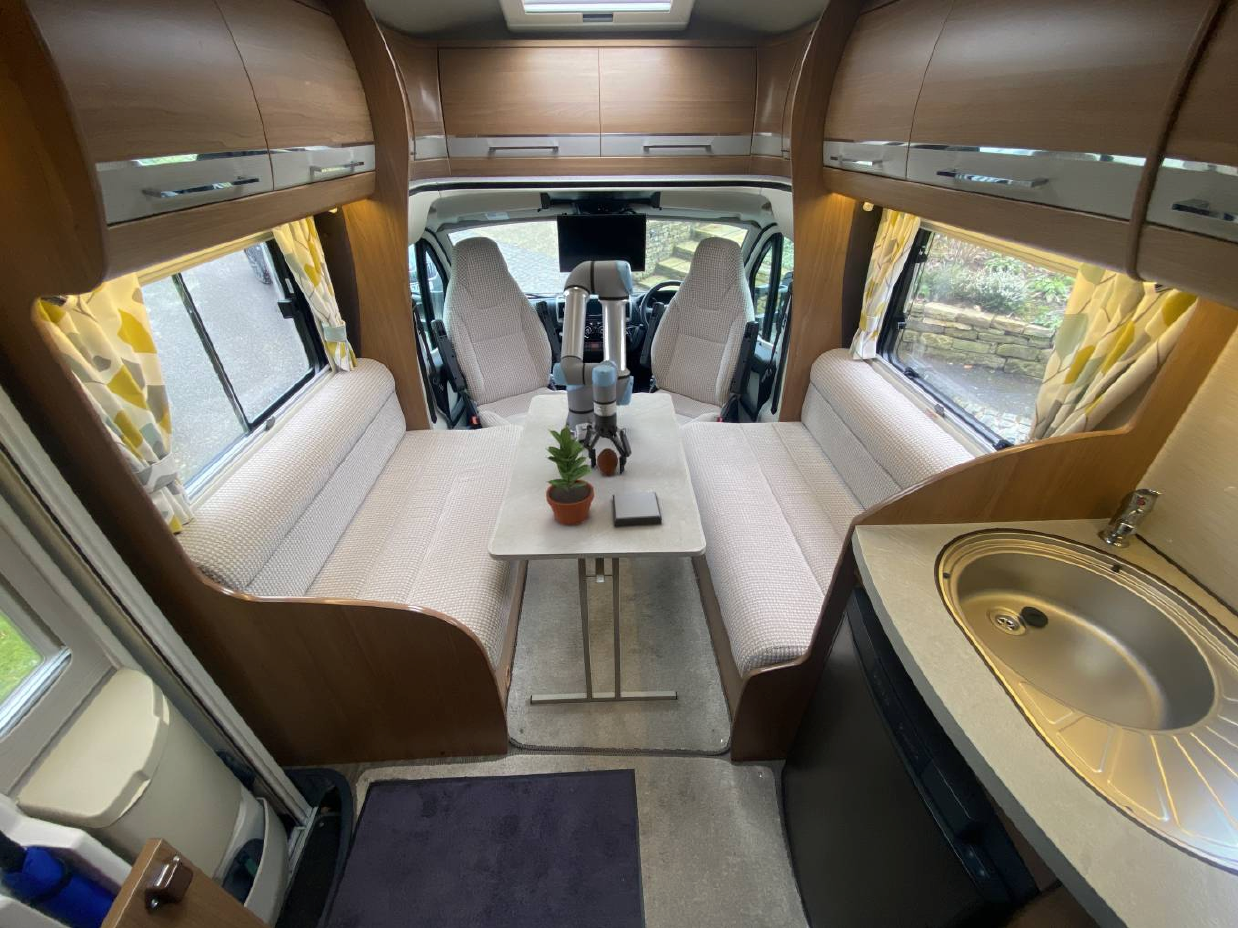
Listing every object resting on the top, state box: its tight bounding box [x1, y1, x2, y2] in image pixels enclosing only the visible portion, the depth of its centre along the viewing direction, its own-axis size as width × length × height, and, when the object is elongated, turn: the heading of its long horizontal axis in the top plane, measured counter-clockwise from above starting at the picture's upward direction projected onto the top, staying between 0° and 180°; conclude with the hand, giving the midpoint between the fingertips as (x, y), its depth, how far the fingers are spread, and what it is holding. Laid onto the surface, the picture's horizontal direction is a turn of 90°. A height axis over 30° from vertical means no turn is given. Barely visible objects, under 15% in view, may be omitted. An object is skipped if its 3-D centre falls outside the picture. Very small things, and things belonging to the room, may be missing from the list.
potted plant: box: [545, 424, 595, 526], centre depth 147 cm, size 15×15×30 cm
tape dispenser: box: [574, 423, 593, 445], centre depth 195 cm, size 6×7×10 cm
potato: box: [596, 447, 619, 477], centre depth 176 cm, size 8×12×8 cm, turn 179°
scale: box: [612, 491, 662, 528], centre depth 155 cm, size 14×14×3 cm
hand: (607, 469), depth 178 cm, fingers open, 10 cm apart
